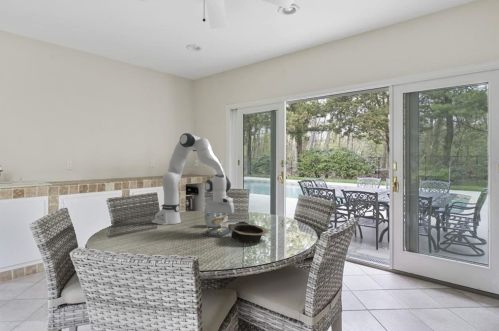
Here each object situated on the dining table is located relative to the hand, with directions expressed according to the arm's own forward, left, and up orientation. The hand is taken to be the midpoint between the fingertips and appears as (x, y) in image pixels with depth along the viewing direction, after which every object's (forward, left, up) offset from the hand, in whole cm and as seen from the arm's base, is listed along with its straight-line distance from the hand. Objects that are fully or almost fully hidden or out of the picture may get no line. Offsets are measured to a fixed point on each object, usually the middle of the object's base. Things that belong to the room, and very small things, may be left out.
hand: (219, 219), depth 194 cm
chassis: (0, 0, -9) cm, 9 cm away
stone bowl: (+24, -6, -9) cm, 26 cm away
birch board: (0, 0, -2) cm, 2 cm away
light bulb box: (-13, +15, -9) cm, 22 cm away
